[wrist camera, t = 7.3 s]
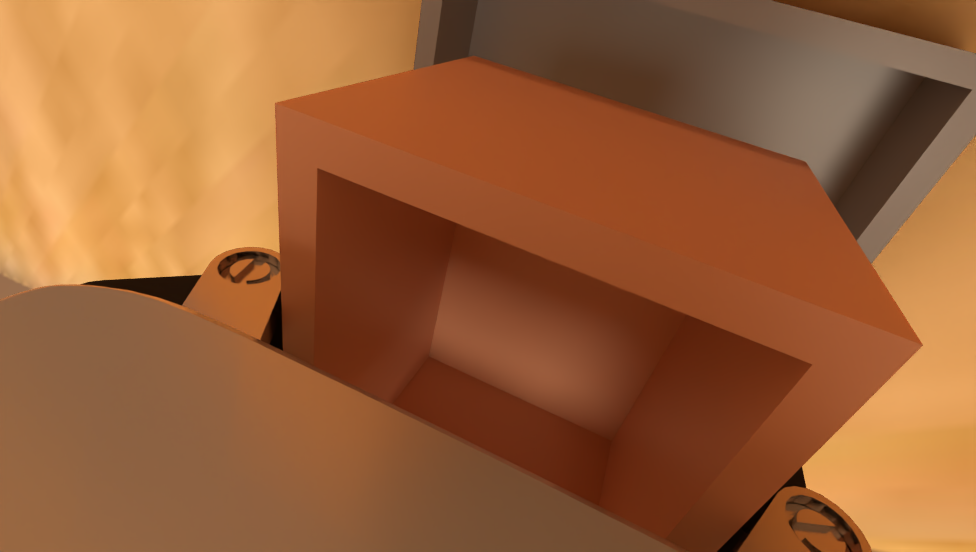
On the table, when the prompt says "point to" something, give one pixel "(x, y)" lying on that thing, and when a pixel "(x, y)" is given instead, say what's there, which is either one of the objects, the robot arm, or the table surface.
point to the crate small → (579, 287)
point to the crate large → (747, 84)
